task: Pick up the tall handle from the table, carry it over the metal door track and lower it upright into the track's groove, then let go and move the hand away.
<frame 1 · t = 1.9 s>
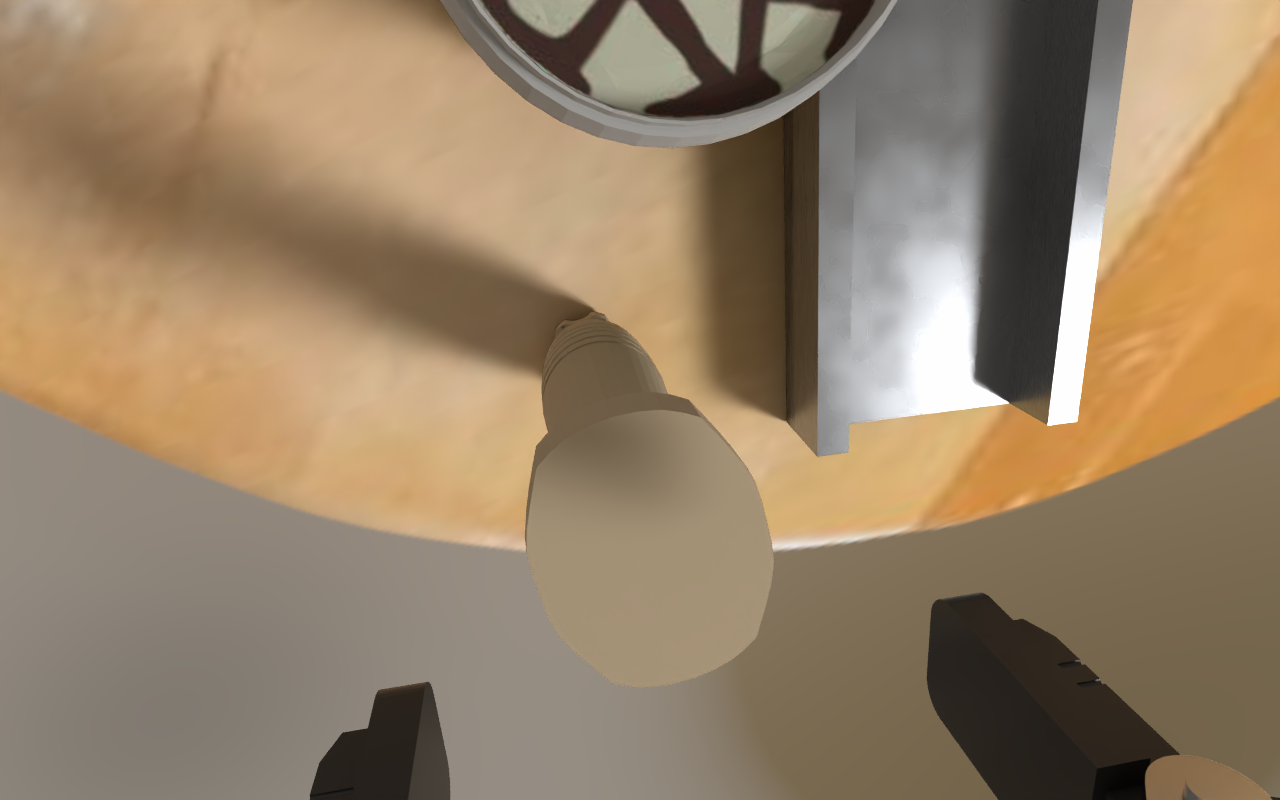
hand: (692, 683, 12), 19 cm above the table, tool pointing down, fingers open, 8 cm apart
handle: (588, 349, 30), on the table
track: (918, 157, 29), on the table
food container: (585, 33, 26), on the table
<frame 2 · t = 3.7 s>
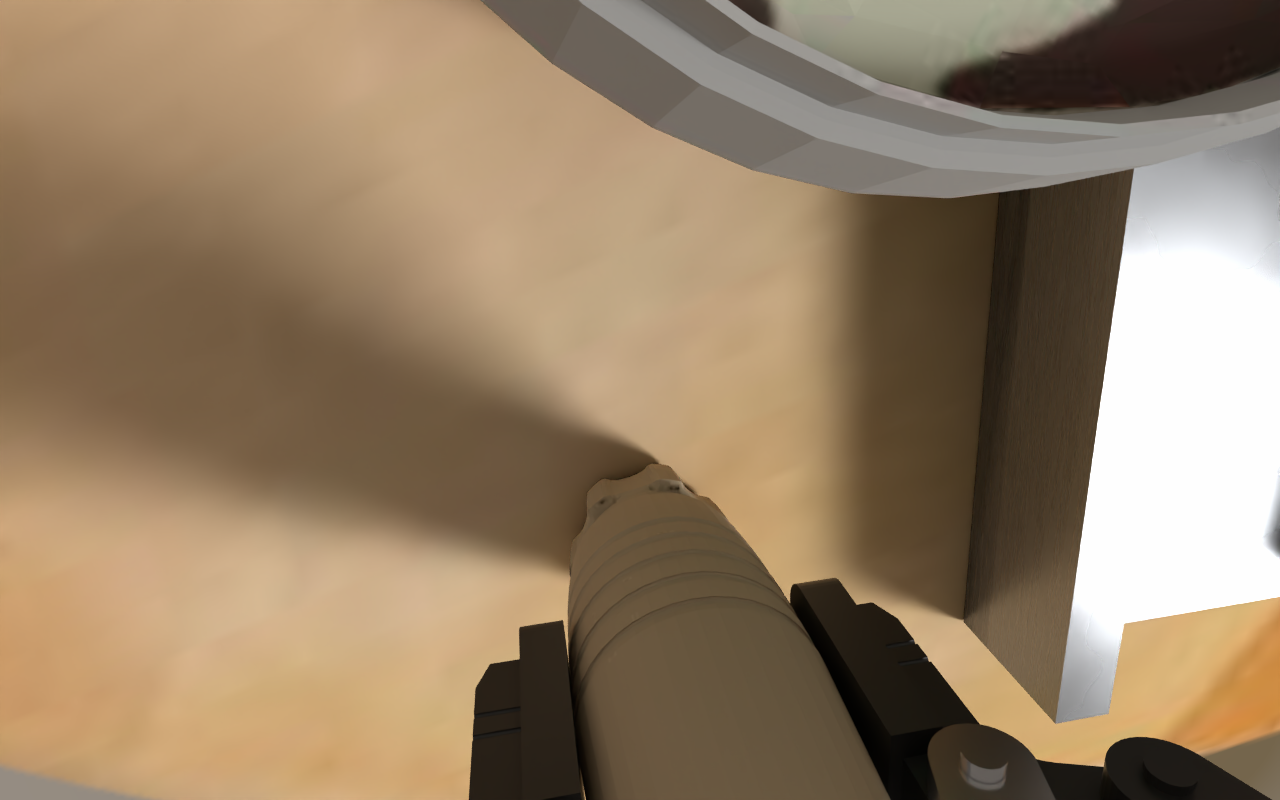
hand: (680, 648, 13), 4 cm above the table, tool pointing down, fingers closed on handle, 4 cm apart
handle: (641, 521, 17), on the table, touching gripper
track: (1226, 188, 16), on the table
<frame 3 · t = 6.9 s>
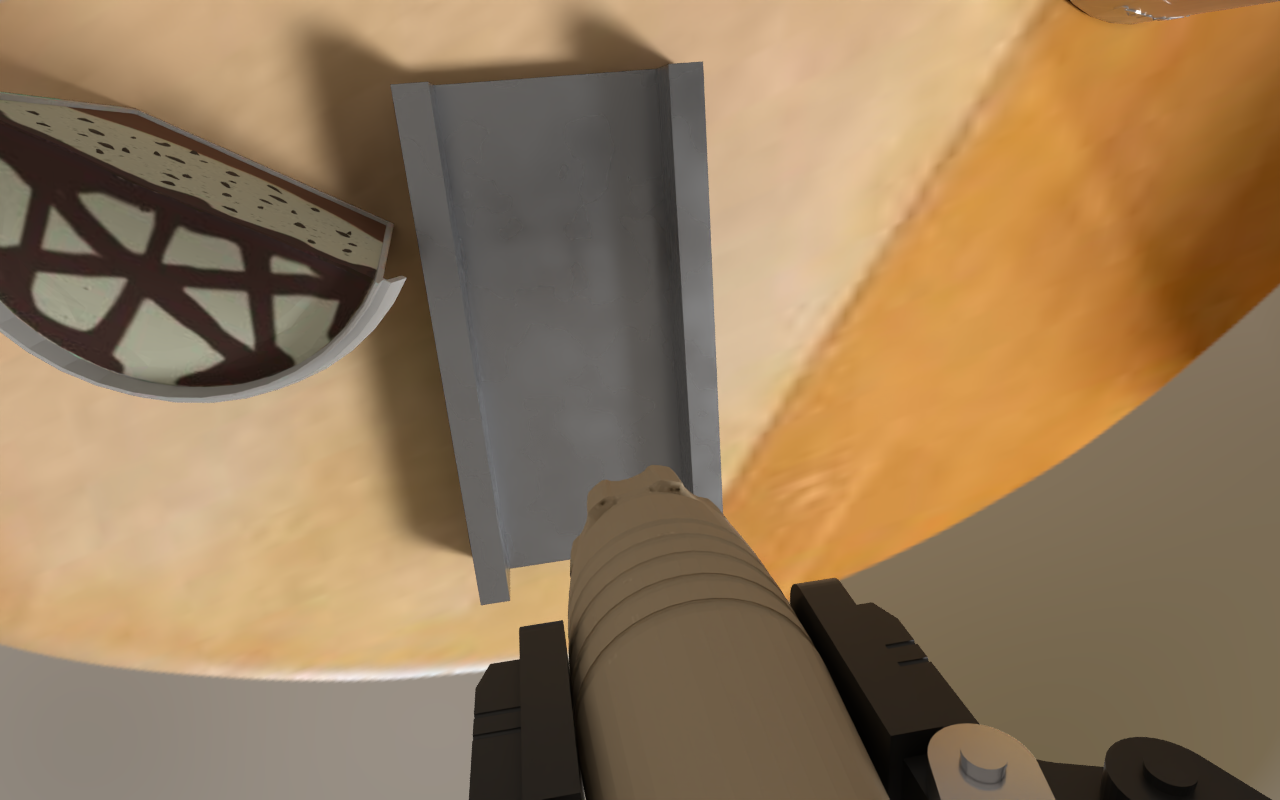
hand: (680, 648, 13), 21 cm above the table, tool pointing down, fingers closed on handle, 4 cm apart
handle: (641, 522, 17), point 17 cm above the table, touching gripper
track: (573, 335, 33), on the table
food container: (245, 244, 29), on the table
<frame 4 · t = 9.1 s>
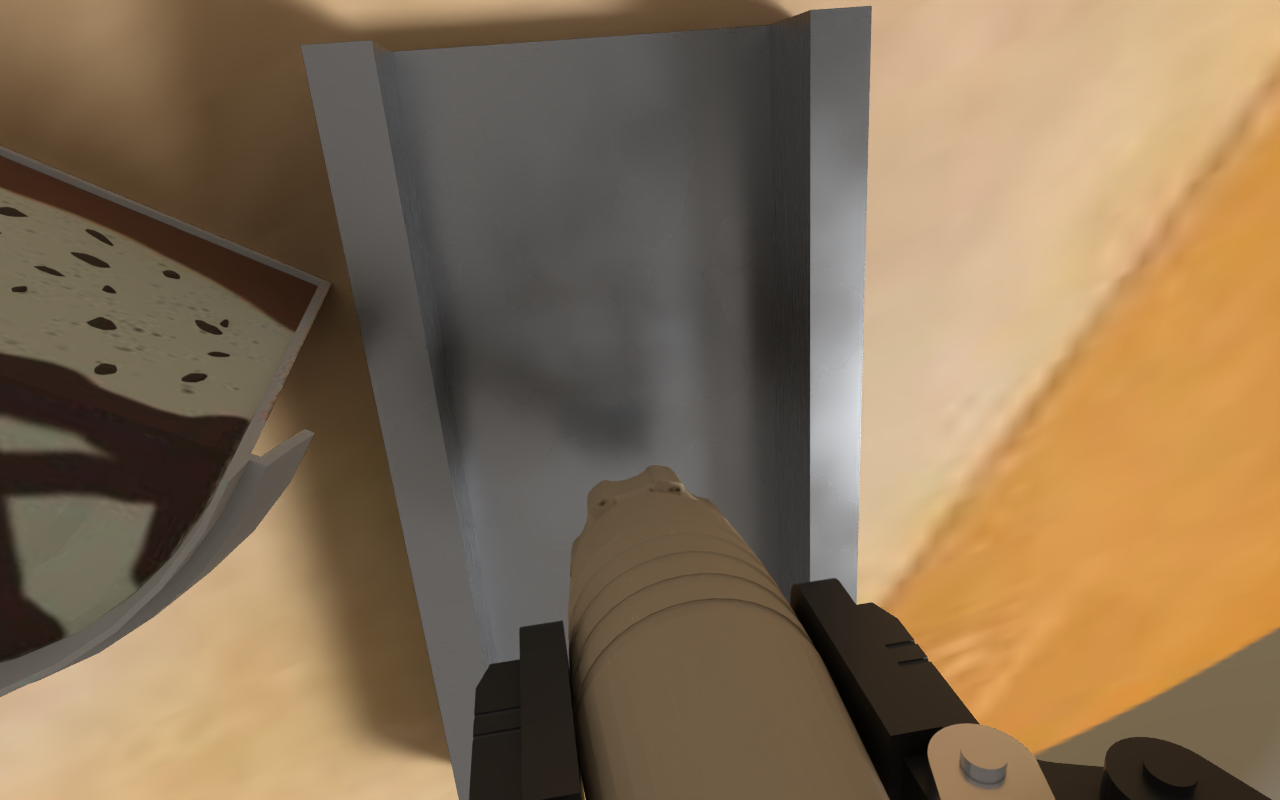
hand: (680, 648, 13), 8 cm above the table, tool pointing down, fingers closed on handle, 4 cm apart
handle: (641, 522, 17), point 4 cm above the table, touching gripper
track: (620, 450, 21), on the table
food container: (86, 317, 18), on the table
when the fingers open (7 cm above the table, at t = 10.3 s): handle drops 1 cm, resting on track.
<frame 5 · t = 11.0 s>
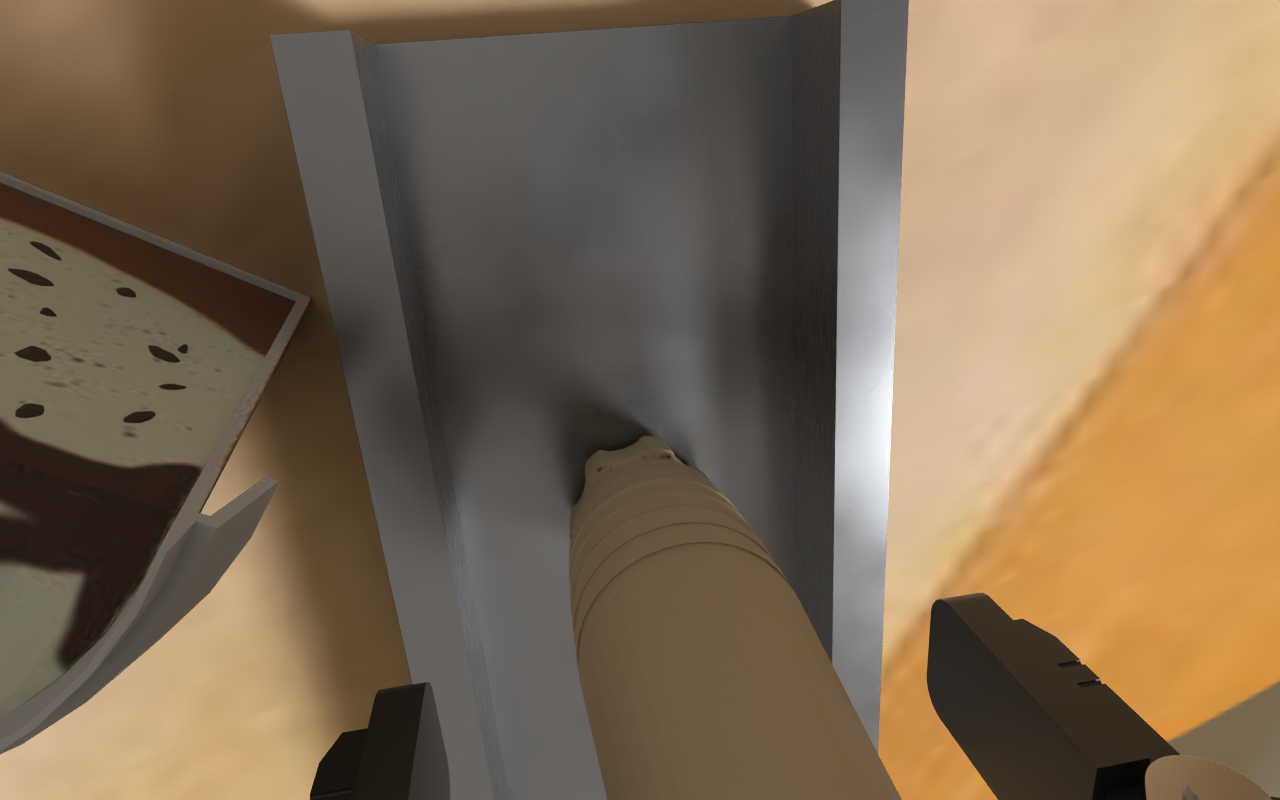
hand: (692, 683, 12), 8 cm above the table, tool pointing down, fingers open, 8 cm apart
handle: (635, 490, 19), point 1 cm above the table, touching track
track: (625, 477, 19), on the table
food container: (41, 336, 16), on the table
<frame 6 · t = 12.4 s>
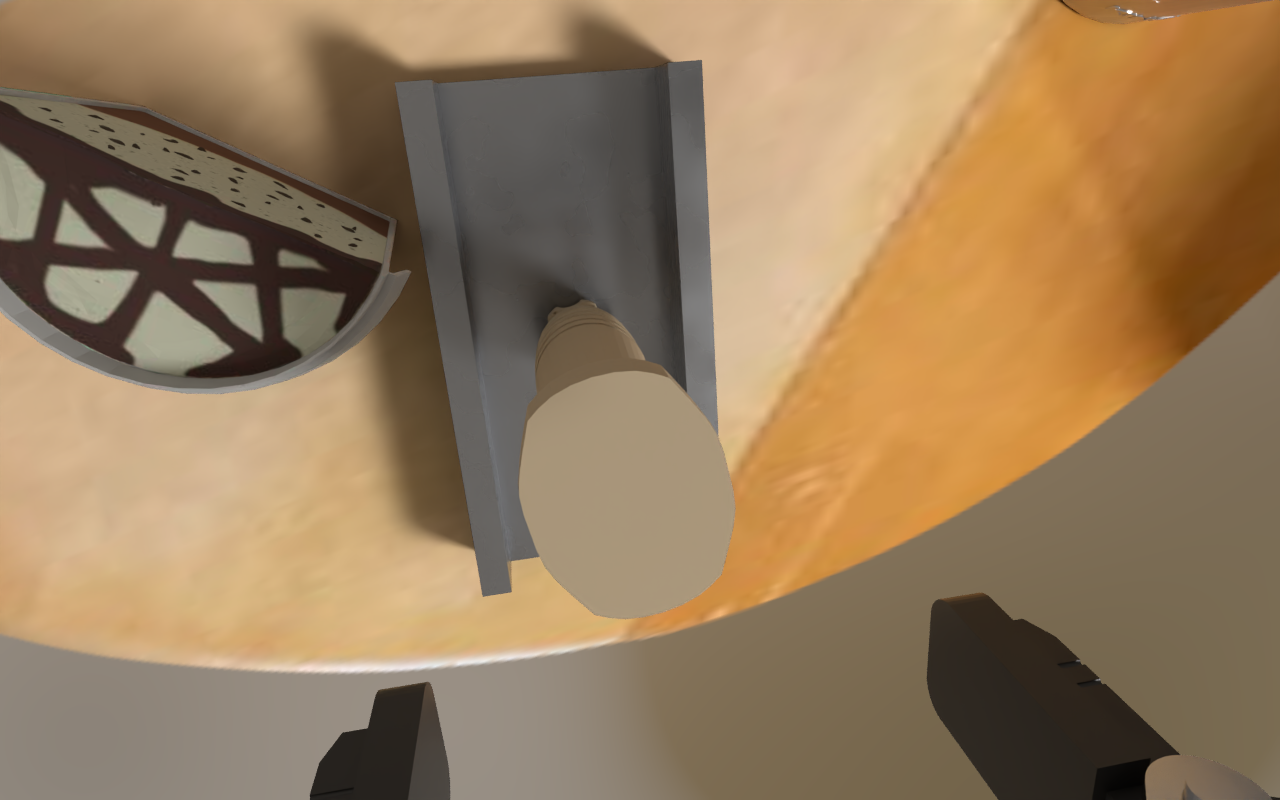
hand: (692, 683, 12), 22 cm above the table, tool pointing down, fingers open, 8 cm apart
handle: (578, 334, 32), point 1 cm above the table, touching track
track: (574, 330, 33), on the table
food container: (250, 239, 30), on the table
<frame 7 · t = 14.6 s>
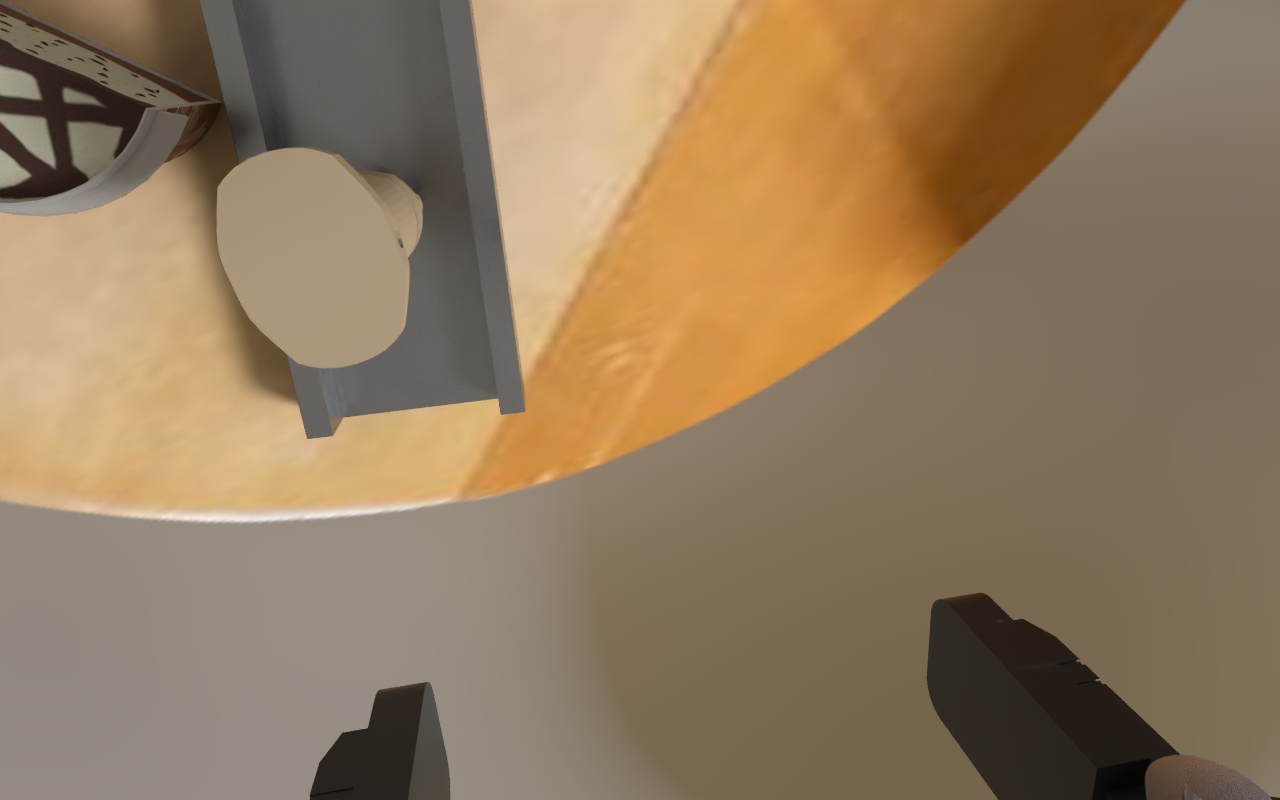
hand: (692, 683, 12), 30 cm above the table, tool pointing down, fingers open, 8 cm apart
handle: (389, 208, 37), point 1 cm above the table, touching track
track: (389, 207, 37), on the table
food container: (93, 118, 35), on the table
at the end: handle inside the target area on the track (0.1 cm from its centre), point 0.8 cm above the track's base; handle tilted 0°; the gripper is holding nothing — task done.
